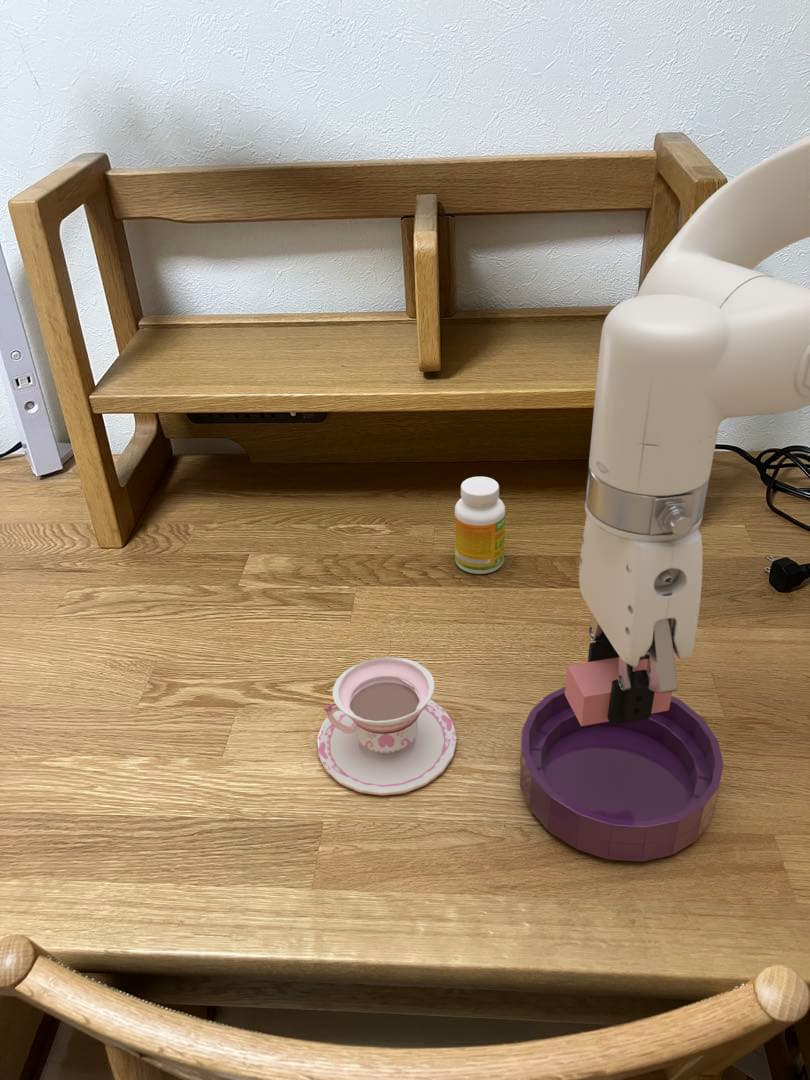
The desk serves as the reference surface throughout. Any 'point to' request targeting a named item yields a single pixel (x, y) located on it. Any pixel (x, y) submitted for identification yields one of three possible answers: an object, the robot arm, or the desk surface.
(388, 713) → the teacup
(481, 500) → the supplement bottle
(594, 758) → the bowl
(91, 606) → the desk surface
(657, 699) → the eraser
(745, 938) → the desk surface
